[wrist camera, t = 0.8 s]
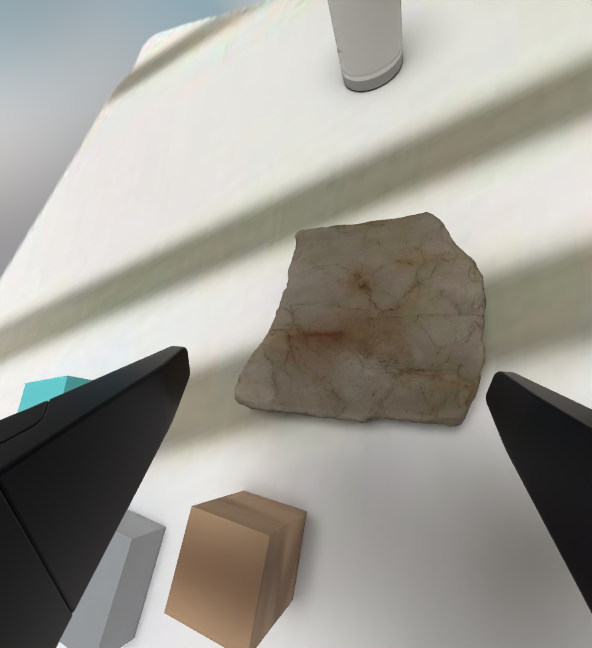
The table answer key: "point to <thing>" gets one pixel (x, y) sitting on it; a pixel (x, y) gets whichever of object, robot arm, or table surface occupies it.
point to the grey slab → (117, 587)
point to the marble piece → (373, 327)
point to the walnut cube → (236, 568)
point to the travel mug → (367, 40)
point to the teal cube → (48, 390)
